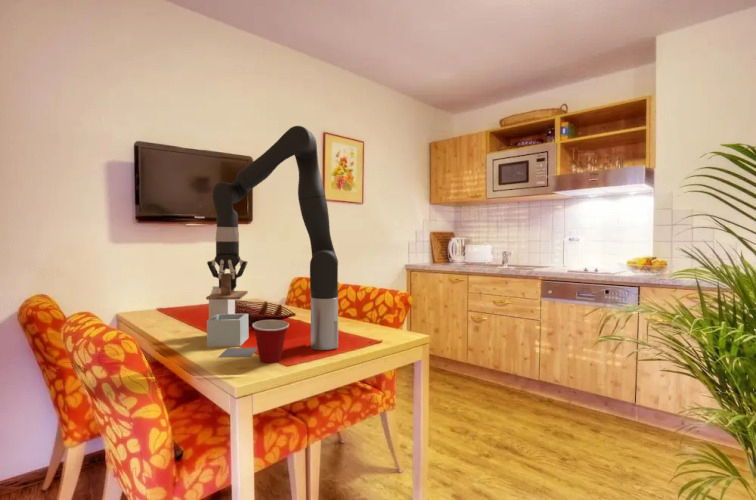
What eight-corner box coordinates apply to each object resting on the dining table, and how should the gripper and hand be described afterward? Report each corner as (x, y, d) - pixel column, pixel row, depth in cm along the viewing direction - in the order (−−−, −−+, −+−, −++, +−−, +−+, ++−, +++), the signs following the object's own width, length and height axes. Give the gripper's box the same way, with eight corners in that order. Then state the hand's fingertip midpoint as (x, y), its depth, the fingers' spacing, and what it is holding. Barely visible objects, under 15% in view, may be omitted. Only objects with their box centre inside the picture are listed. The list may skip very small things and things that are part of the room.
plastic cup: (265, 371, 112) (265, 328, 111) (245, 363, 119) (244, 323, 118) (296, 361, 120) (296, 322, 120) (275, 354, 127) (275, 317, 127)
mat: (258, 349, 133) (258, 347, 133) (250, 358, 123) (250, 356, 123) (227, 349, 132) (227, 348, 132) (217, 359, 122) (217, 357, 122)
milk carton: (228, 338, 146) (227, 287, 145) (209, 338, 146) (208, 287, 146) (235, 334, 153) (234, 285, 153) (217, 334, 153) (216, 285, 153)
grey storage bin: (248, 339, 146) (248, 313, 145) (240, 347, 135) (240, 320, 134) (217, 339, 145) (217, 313, 145) (207, 348, 134) (206, 320, 134)
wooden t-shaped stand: (247, 293, 145) (247, 271, 144) (239, 299, 134) (239, 276, 133) (216, 293, 144) (216, 271, 143) (206, 299, 133) (205, 276, 132)
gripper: (250, 240, 142) (250, 288, 143) (210, 240, 141) (210, 288, 142) (245, 240, 135) (245, 291, 136) (202, 240, 134) (203, 291, 134)
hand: (227, 289), depth 139 cm, fingers closed on wooden t-shaped stand, 3 cm apart
